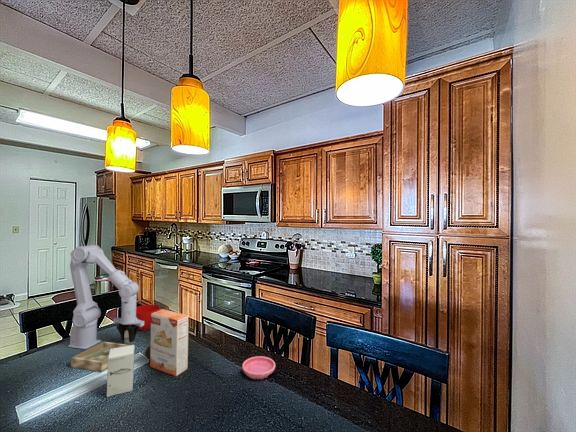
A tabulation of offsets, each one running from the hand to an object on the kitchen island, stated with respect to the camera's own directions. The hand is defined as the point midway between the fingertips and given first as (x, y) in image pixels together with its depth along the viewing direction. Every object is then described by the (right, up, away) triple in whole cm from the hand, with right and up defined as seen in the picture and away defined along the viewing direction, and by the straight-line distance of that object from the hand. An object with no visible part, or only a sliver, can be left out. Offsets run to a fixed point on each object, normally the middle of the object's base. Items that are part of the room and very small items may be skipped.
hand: (128, 340), depth 120 cm
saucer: (+60, -3, -19) cm, 63 cm away
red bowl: (0, -2, +17) cm, 18 cm away
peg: (0, -2, 0) cm, 2 cm away
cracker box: (+26, -3, -18) cm, 31 cm away
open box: (-3, -2, -13) cm, 13 cm away
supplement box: (+15, -2, -30) cm, 33 cm away
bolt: (+16, -3, -4) cm, 17 cm away
